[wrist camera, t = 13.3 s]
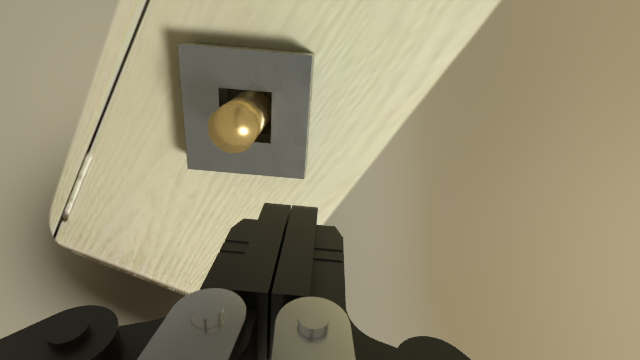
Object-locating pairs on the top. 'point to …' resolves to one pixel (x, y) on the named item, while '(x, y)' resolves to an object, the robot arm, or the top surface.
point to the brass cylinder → (239, 121)
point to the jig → (257, 75)
